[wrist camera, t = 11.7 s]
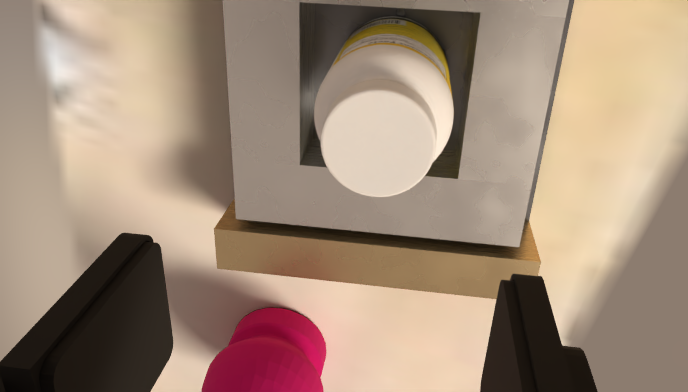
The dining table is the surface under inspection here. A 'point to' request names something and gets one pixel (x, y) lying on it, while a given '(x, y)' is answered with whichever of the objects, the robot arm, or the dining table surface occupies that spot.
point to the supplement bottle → (385, 107)
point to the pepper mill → (270, 355)
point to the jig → (435, 187)
